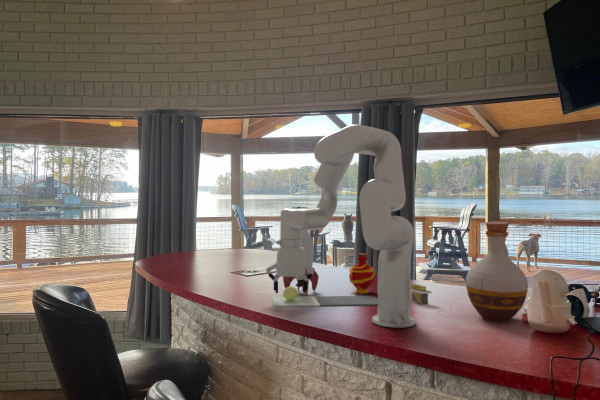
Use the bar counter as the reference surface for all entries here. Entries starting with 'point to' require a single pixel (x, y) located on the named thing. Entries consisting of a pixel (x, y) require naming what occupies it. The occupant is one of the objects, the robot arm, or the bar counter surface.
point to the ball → (290, 293)
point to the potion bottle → (362, 274)
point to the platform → (419, 294)
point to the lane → (326, 301)
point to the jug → (496, 279)
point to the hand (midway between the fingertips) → (290, 292)
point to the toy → (308, 251)
